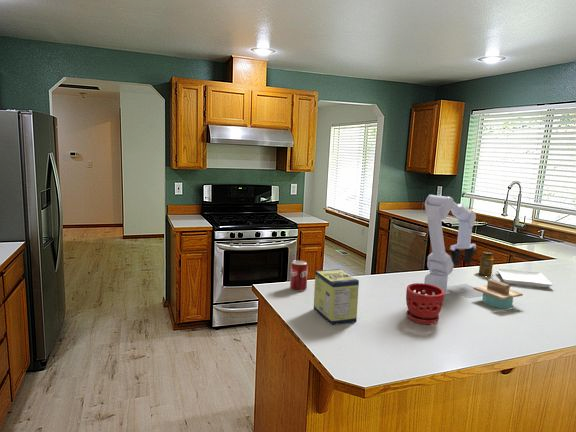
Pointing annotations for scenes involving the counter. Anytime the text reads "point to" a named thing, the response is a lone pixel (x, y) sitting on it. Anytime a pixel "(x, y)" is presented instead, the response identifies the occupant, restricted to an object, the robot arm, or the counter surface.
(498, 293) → the oak lid
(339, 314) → the protein box
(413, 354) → the counter surface
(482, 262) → the condiment
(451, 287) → the grey mat
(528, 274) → the salad plate
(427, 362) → the counter surface
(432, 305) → the plant pot
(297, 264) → the soda can
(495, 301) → the teal bowl
